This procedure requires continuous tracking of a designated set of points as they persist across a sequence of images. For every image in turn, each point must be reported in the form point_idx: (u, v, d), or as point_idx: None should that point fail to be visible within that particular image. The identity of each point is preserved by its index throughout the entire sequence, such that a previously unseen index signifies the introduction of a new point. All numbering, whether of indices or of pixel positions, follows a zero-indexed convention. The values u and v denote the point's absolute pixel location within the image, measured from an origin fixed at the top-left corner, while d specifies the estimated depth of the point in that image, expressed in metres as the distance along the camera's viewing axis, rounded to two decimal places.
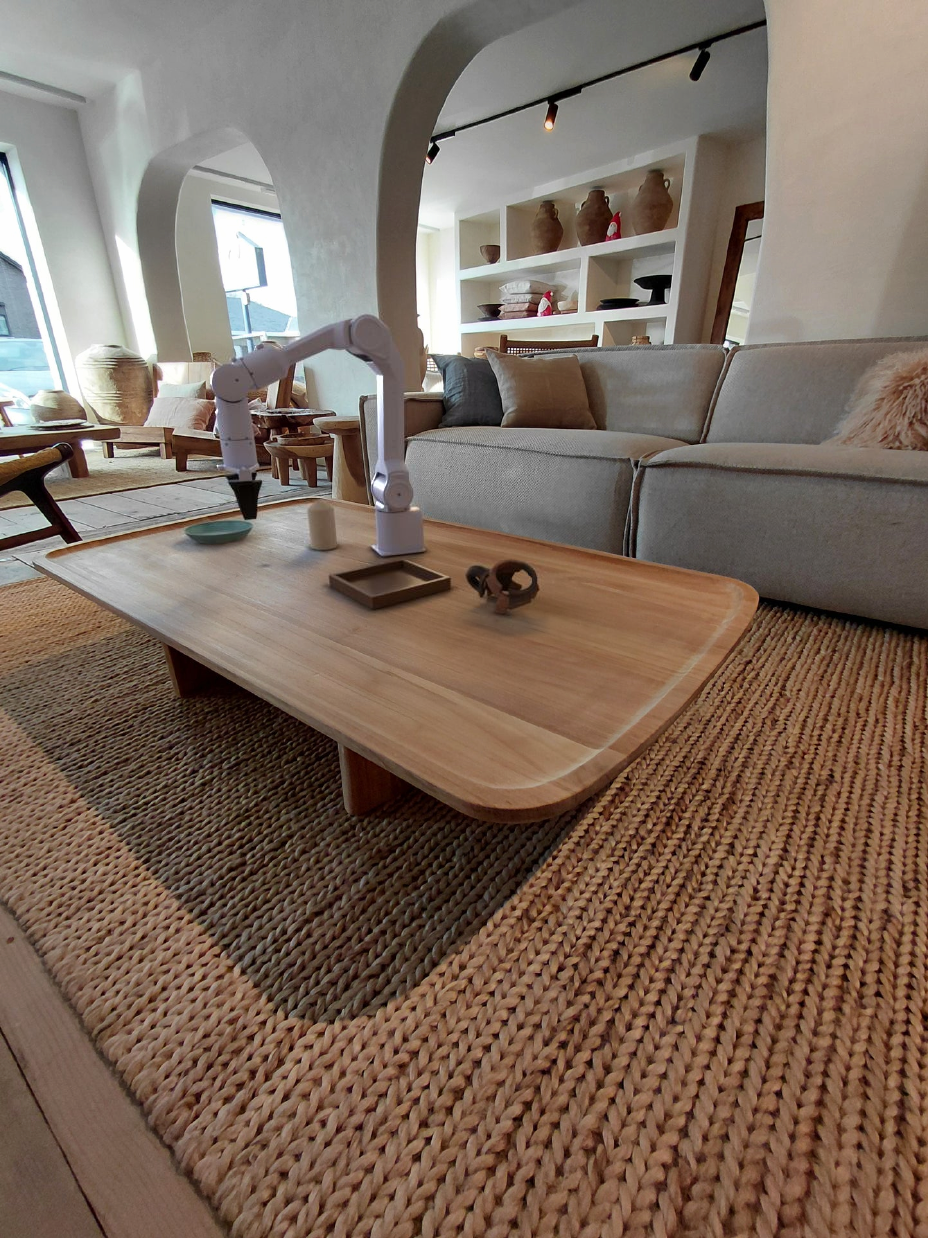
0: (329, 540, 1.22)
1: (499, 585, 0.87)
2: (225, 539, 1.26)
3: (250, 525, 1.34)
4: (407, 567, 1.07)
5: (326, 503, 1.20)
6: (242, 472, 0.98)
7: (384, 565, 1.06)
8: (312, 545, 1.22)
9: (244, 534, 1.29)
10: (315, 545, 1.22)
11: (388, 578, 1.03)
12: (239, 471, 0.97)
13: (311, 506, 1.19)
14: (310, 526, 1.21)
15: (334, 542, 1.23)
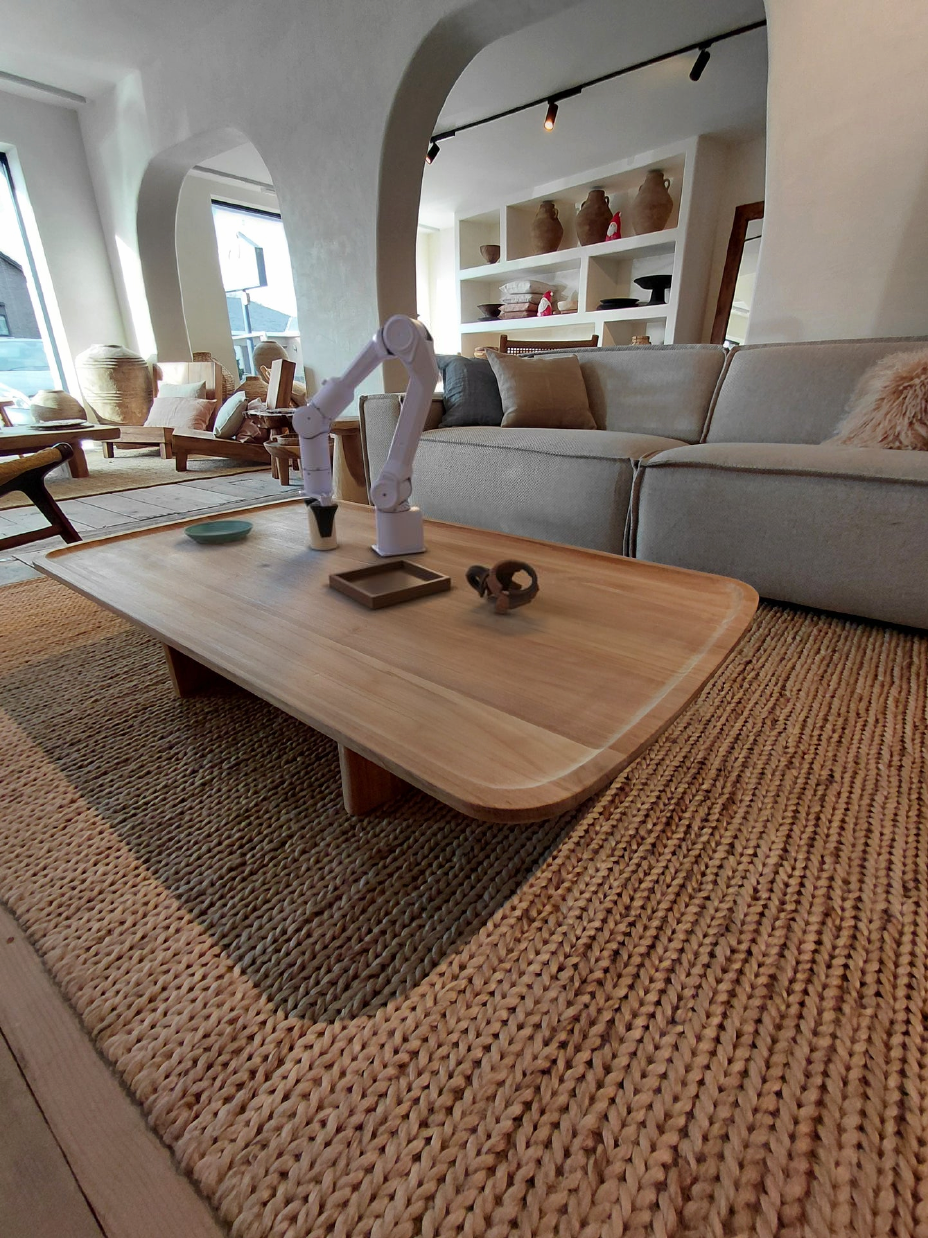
0: (329, 540, 1.22)
1: (499, 585, 0.87)
2: (225, 539, 1.26)
3: (250, 525, 1.34)
4: (407, 567, 1.07)
5: None
6: (324, 498, 1.14)
7: (384, 565, 1.06)
8: (312, 545, 1.22)
9: (244, 534, 1.29)
10: (315, 545, 1.22)
11: (388, 578, 1.03)
12: (321, 497, 1.13)
13: None
14: (310, 526, 1.21)
15: (334, 542, 1.23)
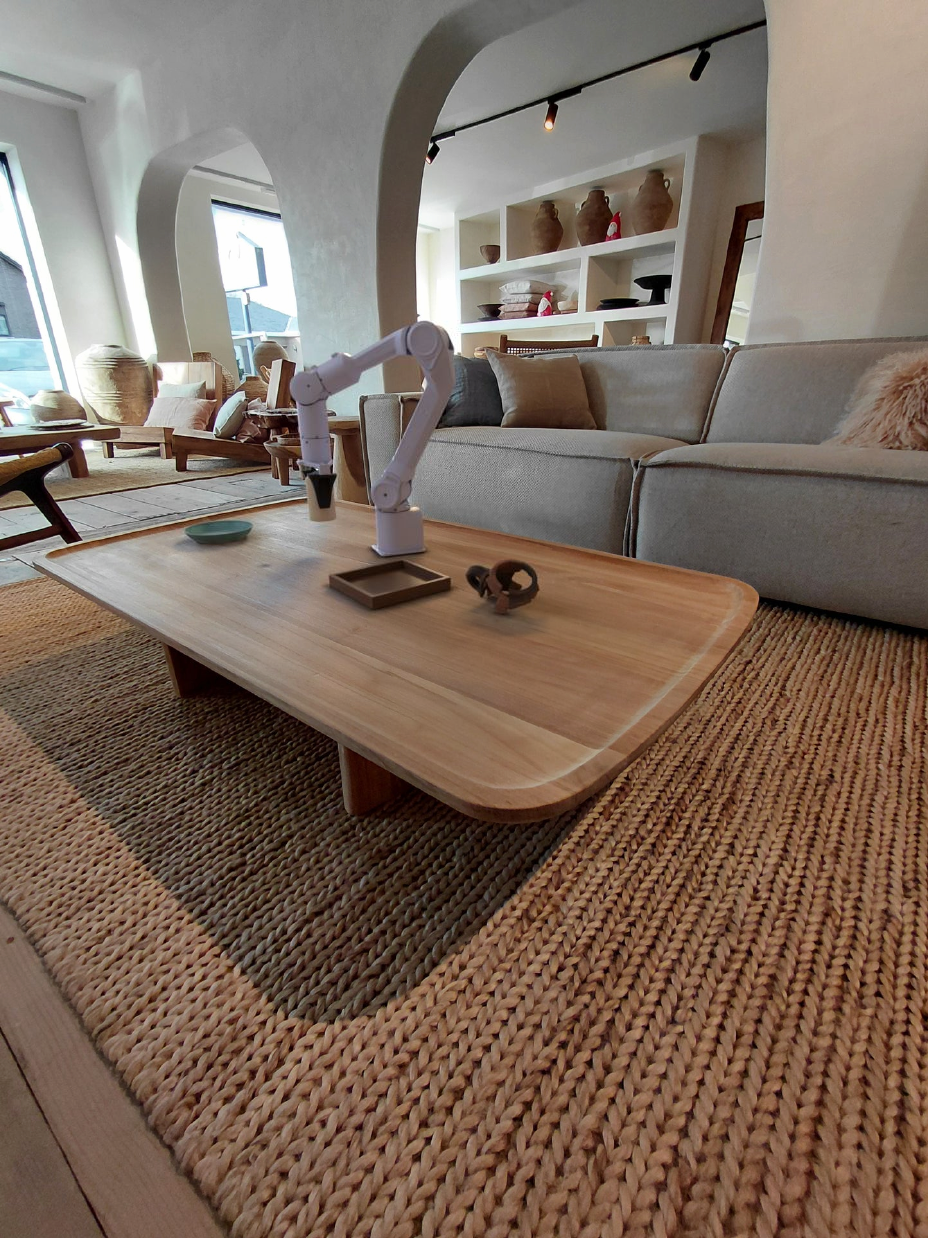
0: (328, 511, 1.19)
1: (499, 585, 0.87)
2: (225, 539, 1.26)
3: (250, 525, 1.34)
4: (407, 567, 1.07)
5: None
6: (322, 466, 1.11)
7: (384, 565, 1.06)
8: (310, 517, 1.19)
9: (244, 534, 1.29)
10: (314, 517, 1.19)
11: (388, 578, 1.03)
12: (320, 466, 1.10)
13: None
14: (308, 497, 1.18)
15: (333, 514, 1.20)
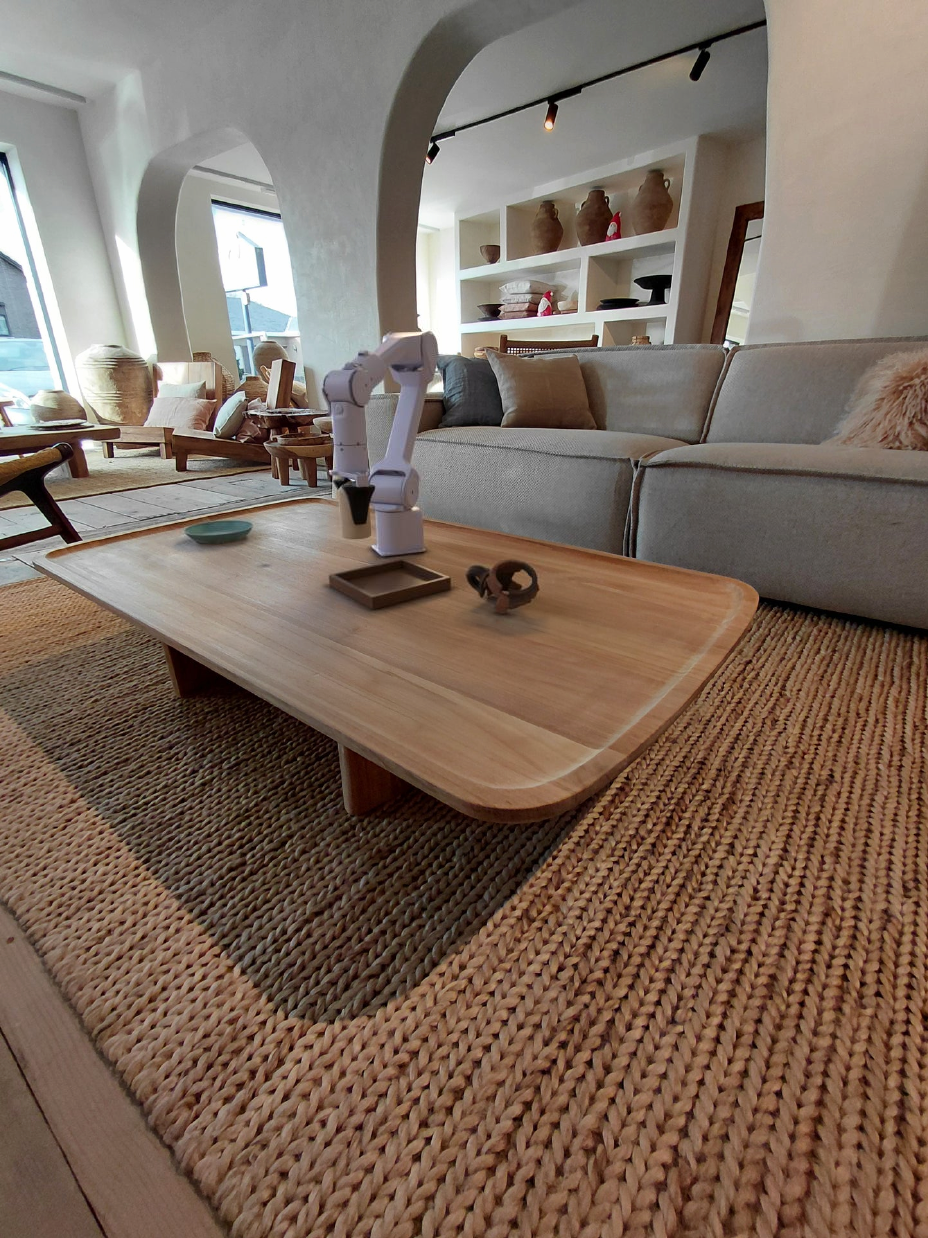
0: (363, 528, 1.05)
1: (499, 585, 0.87)
2: (225, 539, 1.26)
3: (250, 525, 1.34)
4: (407, 567, 1.07)
5: None
6: (360, 478, 0.97)
7: (384, 565, 1.06)
8: (343, 534, 1.05)
9: (244, 534, 1.29)
10: (347, 533, 1.05)
11: (388, 578, 1.03)
12: (357, 477, 0.96)
13: None
14: (341, 511, 1.04)
15: (368, 530, 1.06)
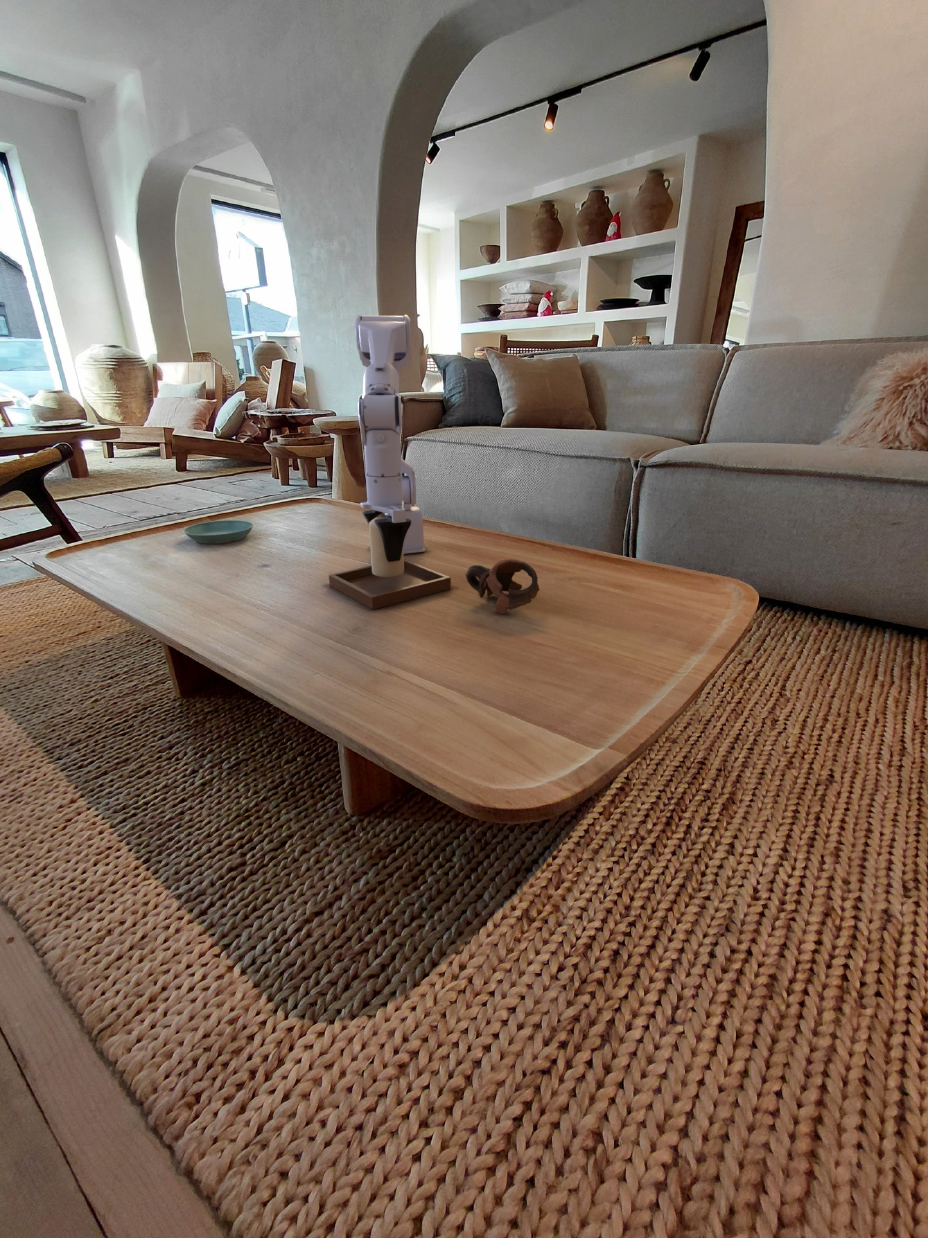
0: (396, 564, 0.96)
1: (499, 585, 0.87)
2: (225, 539, 1.26)
3: (250, 525, 1.34)
4: (407, 567, 1.07)
5: None
6: (396, 513, 0.88)
7: None
8: (374, 571, 0.97)
9: (244, 534, 1.29)
10: (379, 570, 0.96)
11: (388, 578, 1.03)
12: (393, 512, 0.88)
13: None
14: (373, 547, 0.95)
15: (401, 566, 0.97)
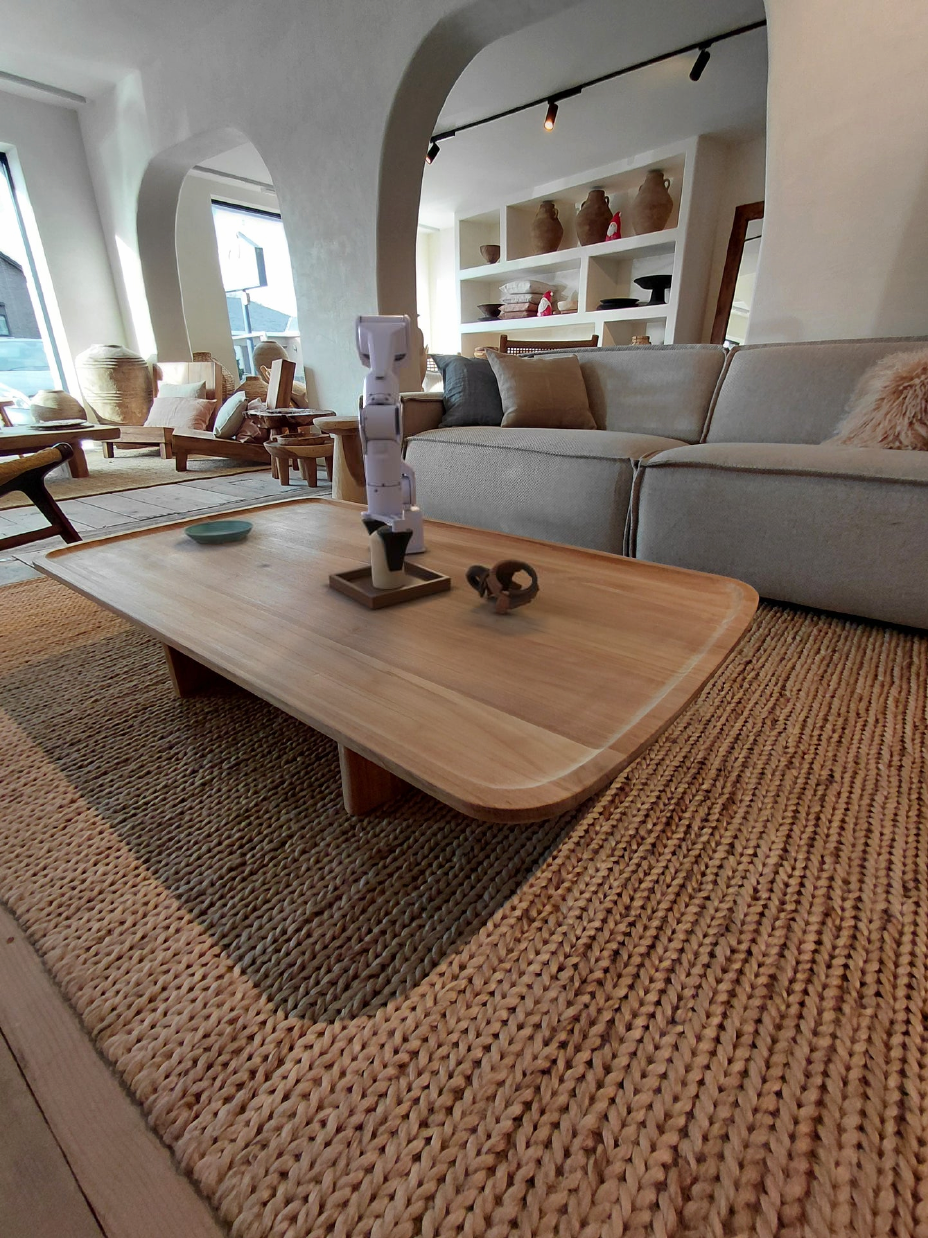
0: (397, 577, 0.97)
1: (499, 585, 0.87)
2: (225, 539, 1.26)
3: (250, 525, 1.34)
4: (407, 567, 1.07)
5: None
6: (397, 522, 0.89)
7: None
8: (375, 583, 0.98)
9: (244, 534, 1.29)
10: (380, 583, 0.97)
11: None
12: (394, 521, 0.89)
13: (376, 535, 0.95)
14: (373, 560, 0.96)
15: (402, 579, 0.98)
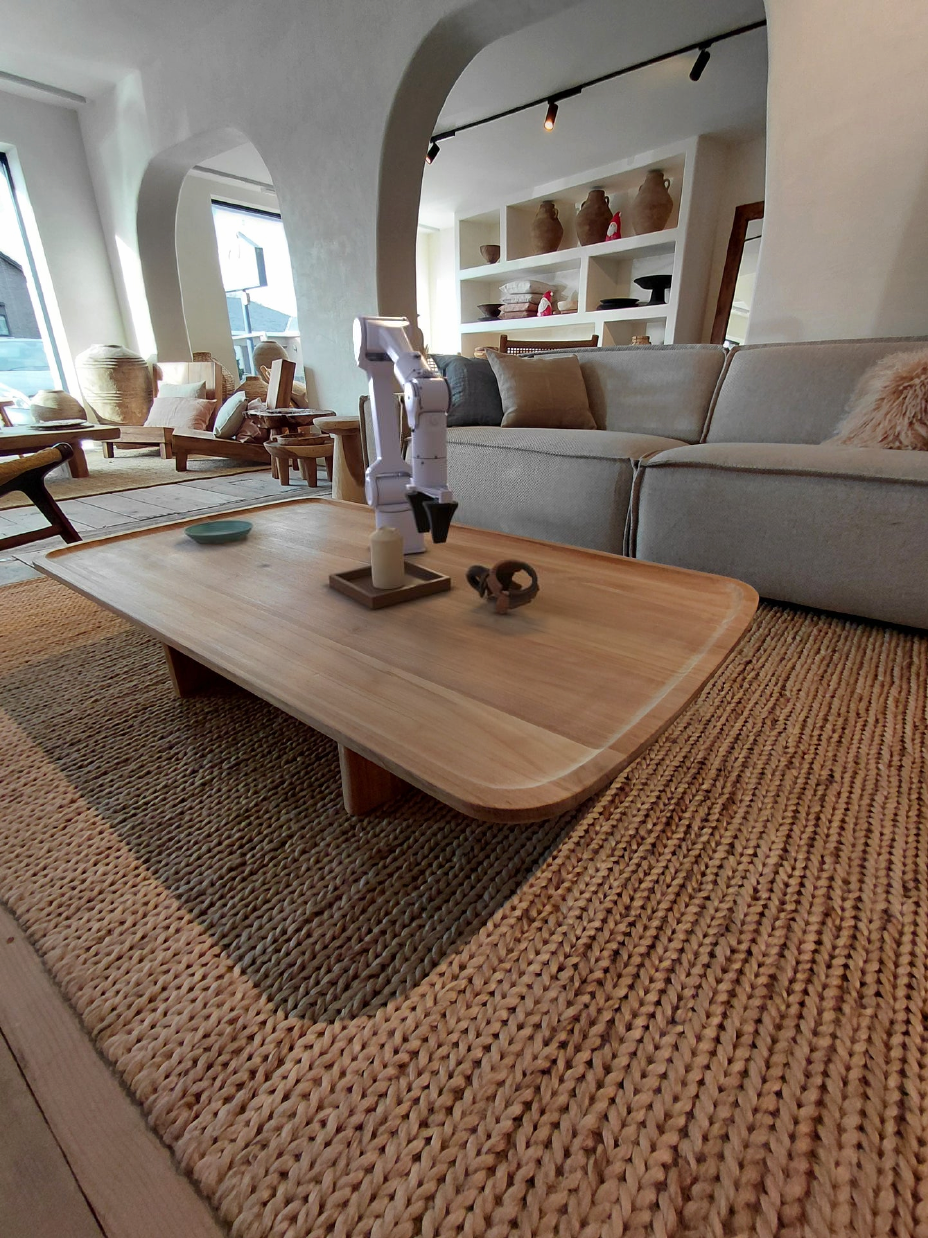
0: (397, 577, 0.97)
1: (499, 585, 0.87)
2: (225, 539, 1.26)
3: (250, 525, 1.34)
4: (407, 567, 1.07)
5: (394, 531, 0.95)
6: (444, 494, 0.90)
7: None
8: (375, 583, 0.98)
9: (244, 534, 1.29)
10: (380, 583, 0.97)
11: None
12: (441, 492, 0.90)
13: (376, 535, 0.95)
14: (373, 560, 0.96)
15: (402, 579, 0.98)
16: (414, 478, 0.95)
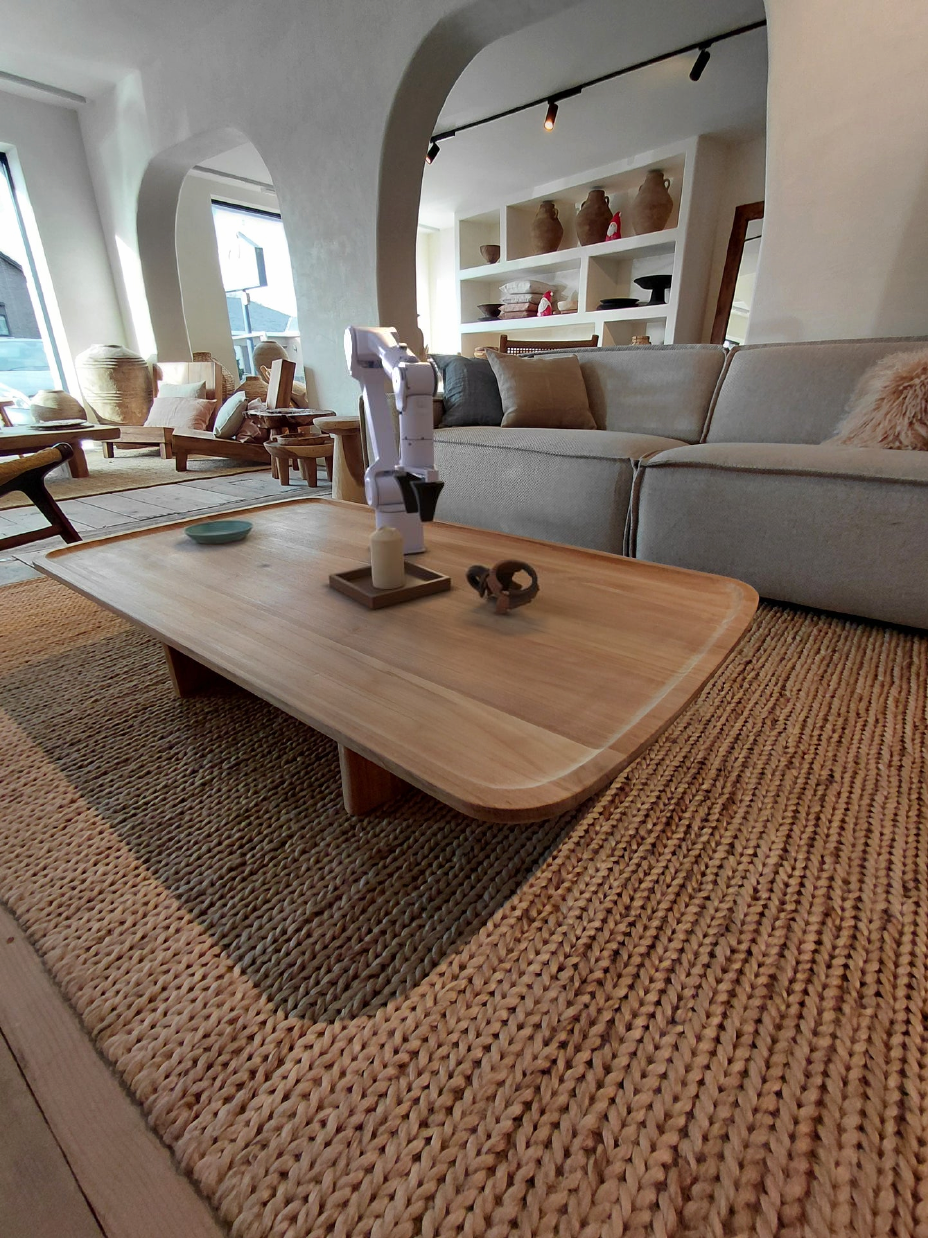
0: (397, 577, 0.97)
1: (499, 585, 0.87)
2: (225, 539, 1.26)
3: (250, 525, 1.34)
4: (407, 567, 1.07)
5: (394, 531, 0.95)
6: (430, 473, 0.95)
7: None
8: (375, 583, 0.98)
9: (244, 534, 1.29)
10: (380, 583, 0.97)
11: None
12: (427, 472, 0.94)
13: (376, 535, 0.95)
14: (373, 560, 0.96)
15: (402, 579, 0.98)
16: (402, 459, 0.99)
